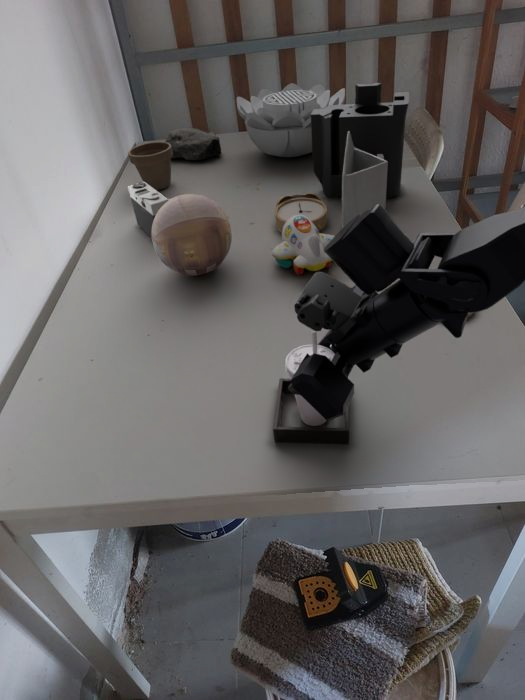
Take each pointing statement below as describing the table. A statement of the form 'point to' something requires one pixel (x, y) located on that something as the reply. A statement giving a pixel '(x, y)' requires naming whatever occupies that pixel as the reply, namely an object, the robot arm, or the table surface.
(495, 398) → the table surface
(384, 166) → the grey angular upright piece
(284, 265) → the toy airplane
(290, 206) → the alarm clock
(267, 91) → the decorative bowl
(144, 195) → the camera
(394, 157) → the black machined bracket
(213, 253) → the ornament
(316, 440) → the black square tray
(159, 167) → the flower pot
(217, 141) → the stone
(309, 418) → the smoothie
